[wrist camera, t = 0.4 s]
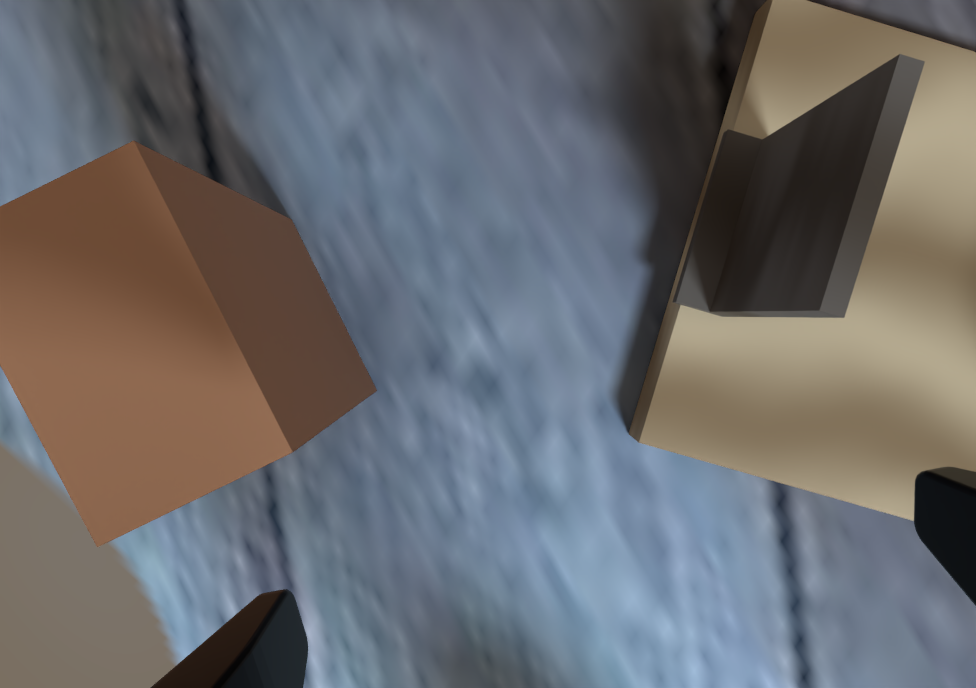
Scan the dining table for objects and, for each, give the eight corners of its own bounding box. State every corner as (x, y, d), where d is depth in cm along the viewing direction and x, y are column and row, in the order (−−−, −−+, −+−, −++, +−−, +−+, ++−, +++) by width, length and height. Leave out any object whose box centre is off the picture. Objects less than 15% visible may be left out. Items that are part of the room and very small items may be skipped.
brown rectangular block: (376, 390, 22) (292, 452, 12) (268, 443, 22) (97, 547, 12) (291, 219, 22) (133, 140, 12) (181, 273, 22) (-68, 239, 12)
